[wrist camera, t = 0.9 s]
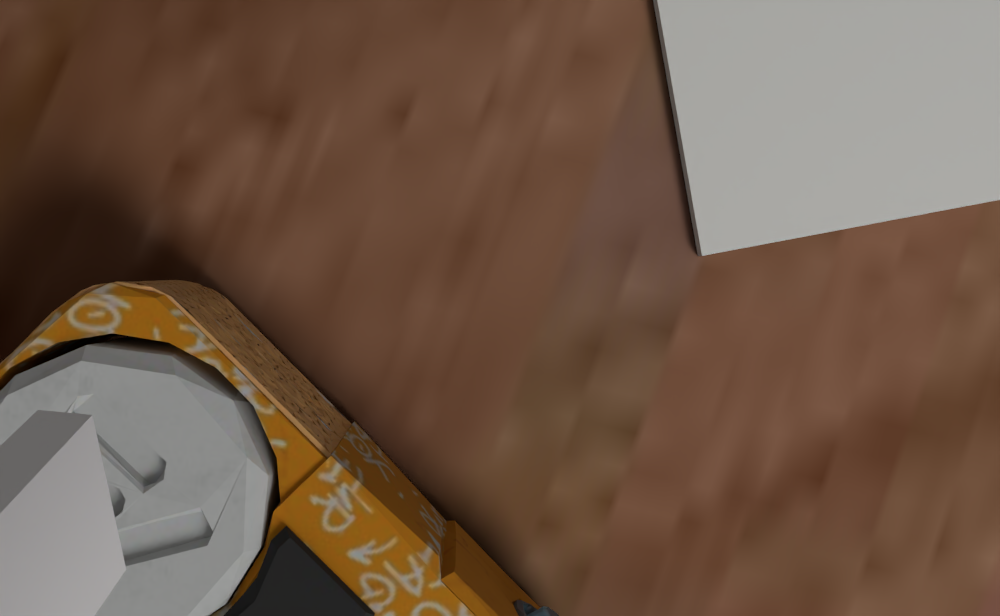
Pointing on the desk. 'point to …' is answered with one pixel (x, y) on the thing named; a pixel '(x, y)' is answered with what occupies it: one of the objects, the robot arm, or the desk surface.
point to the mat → (830, 112)
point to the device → (239, 470)
